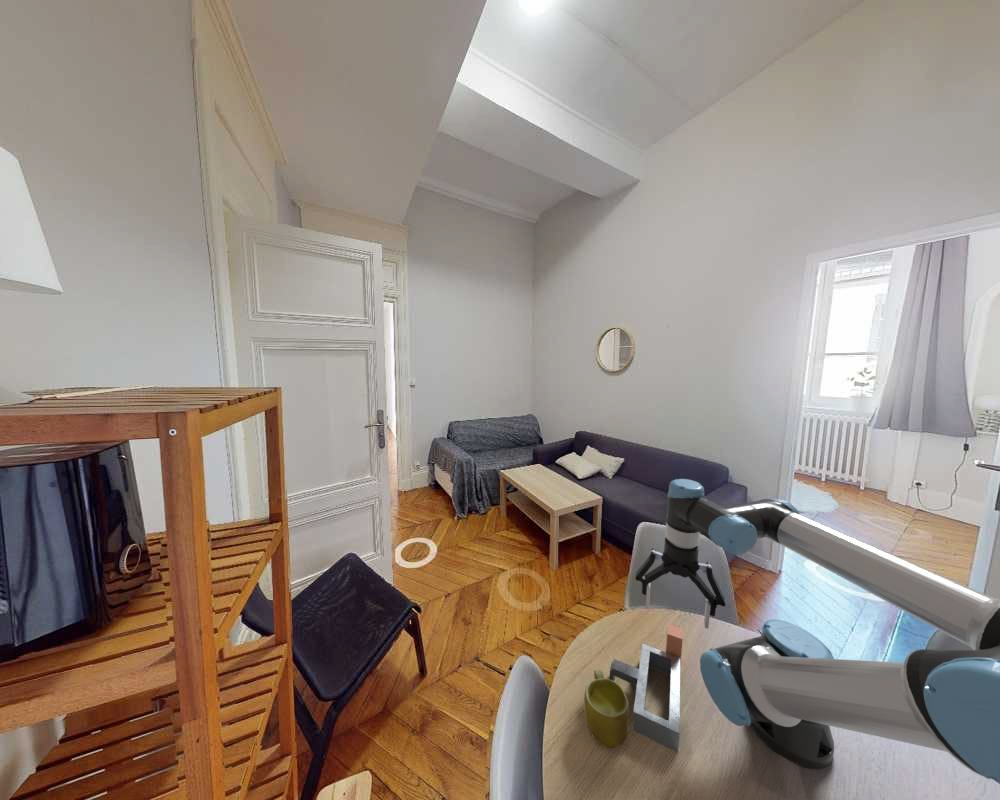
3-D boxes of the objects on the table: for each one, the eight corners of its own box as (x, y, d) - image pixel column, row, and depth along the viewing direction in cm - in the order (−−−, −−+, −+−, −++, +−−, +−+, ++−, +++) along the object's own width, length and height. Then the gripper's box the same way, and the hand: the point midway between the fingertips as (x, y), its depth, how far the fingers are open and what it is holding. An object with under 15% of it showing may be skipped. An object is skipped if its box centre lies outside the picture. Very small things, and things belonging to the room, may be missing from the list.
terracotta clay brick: (680, 661, 89) (682, 629, 88) (679, 672, 86) (682, 639, 85) (665, 655, 91) (667, 623, 90) (665, 666, 88) (667, 633, 86)
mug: (641, 757, 67) (626, 705, 68) (591, 758, 70) (577, 709, 71) (633, 705, 79) (620, 662, 80) (591, 708, 82) (579, 666, 83)
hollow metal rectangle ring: (678, 674, 86) (680, 657, 85) (678, 752, 70) (679, 733, 69) (616, 649, 93) (617, 633, 92) (602, 715, 77) (603, 697, 76)
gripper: (740, 546, 80) (731, 621, 84) (630, 521, 92) (627, 589, 96) (745, 564, 74) (735, 645, 77) (627, 535, 86) (623, 607, 89)
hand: (675, 614), depth 87 cm, fingers open, 13 cm apart
